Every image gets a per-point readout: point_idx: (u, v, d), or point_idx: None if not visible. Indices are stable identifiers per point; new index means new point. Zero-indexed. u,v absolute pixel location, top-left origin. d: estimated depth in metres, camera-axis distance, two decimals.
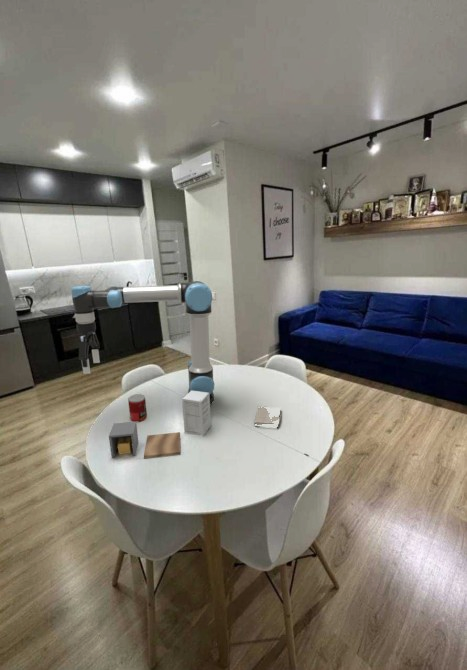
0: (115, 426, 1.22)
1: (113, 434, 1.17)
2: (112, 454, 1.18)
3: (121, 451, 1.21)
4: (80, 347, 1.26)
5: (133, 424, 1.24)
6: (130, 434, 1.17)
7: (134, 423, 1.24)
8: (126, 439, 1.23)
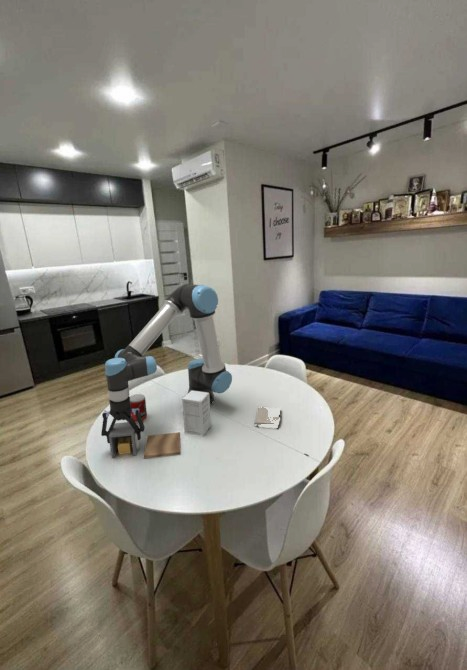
0: (115, 426, 1.22)
1: (113, 434, 1.17)
2: (112, 454, 1.18)
3: (121, 451, 1.21)
4: None
5: None
6: (130, 434, 1.17)
7: None
8: (126, 439, 1.23)
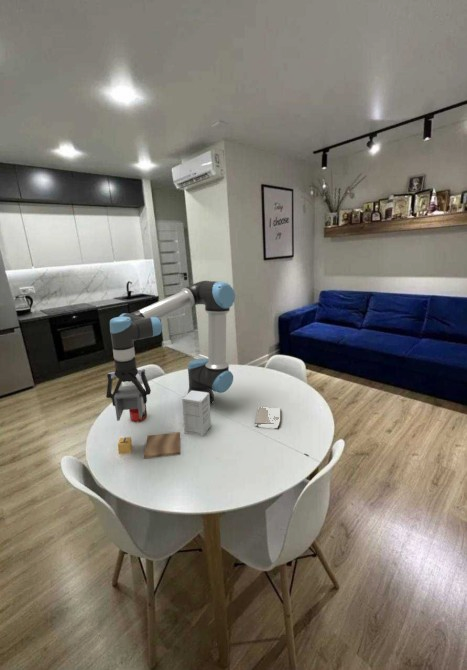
0: (120, 389, 1.19)
1: (118, 395, 1.13)
2: (117, 416, 1.15)
3: (121, 451, 1.21)
4: None
5: None
6: (136, 395, 1.14)
7: None
8: (126, 439, 1.23)
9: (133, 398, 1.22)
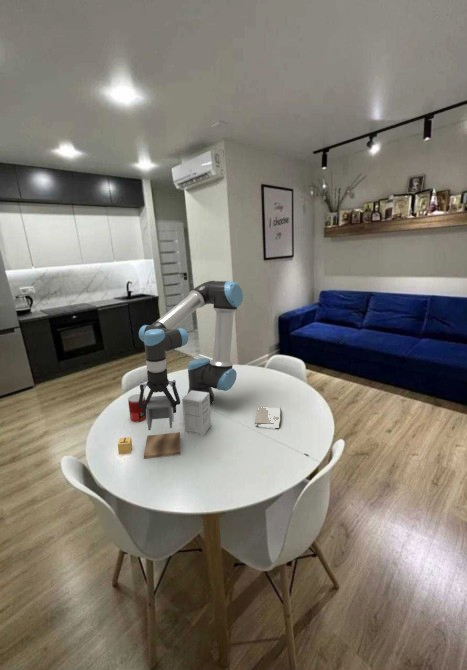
0: (151, 399, 1.22)
1: (150, 406, 1.16)
2: (149, 426, 1.18)
3: (121, 451, 1.21)
4: None
5: None
6: (167, 406, 1.17)
7: None
8: (126, 439, 1.23)
9: (162, 408, 1.25)
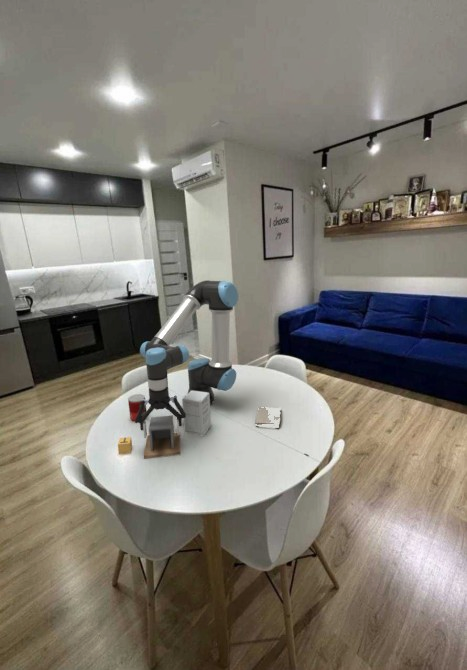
0: (153, 420, 1.24)
1: (153, 427, 1.19)
2: (151, 447, 1.20)
3: (121, 451, 1.21)
4: (139, 409, 1.21)
5: (170, 418, 1.26)
6: (169, 427, 1.19)
7: (171, 417, 1.26)
8: (126, 439, 1.23)
9: None
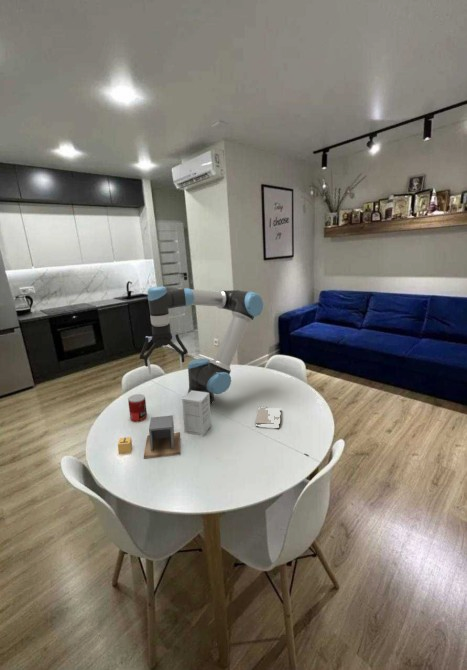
0: (153, 420, 1.24)
1: (153, 427, 1.19)
2: (151, 447, 1.20)
3: (121, 451, 1.21)
4: None
5: (170, 418, 1.26)
6: (169, 427, 1.19)
7: (171, 417, 1.26)
8: (126, 439, 1.23)
9: None
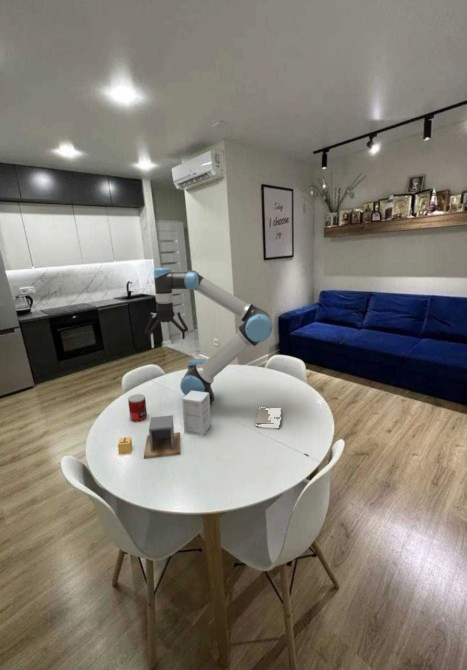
0: (153, 420, 1.24)
1: (153, 427, 1.19)
2: (151, 447, 1.20)
3: (121, 451, 1.21)
4: (148, 322, 1.40)
5: (170, 418, 1.26)
6: (169, 427, 1.19)
7: (171, 417, 1.26)
8: (126, 439, 1.23)
9: None
